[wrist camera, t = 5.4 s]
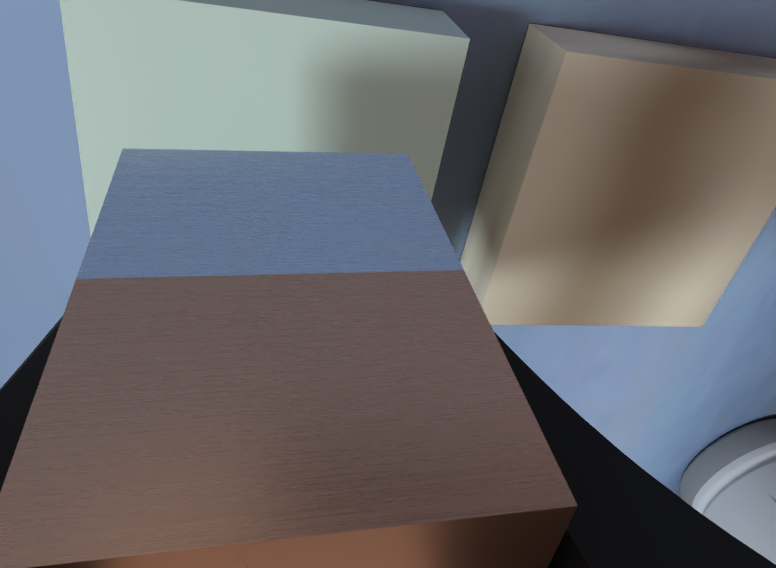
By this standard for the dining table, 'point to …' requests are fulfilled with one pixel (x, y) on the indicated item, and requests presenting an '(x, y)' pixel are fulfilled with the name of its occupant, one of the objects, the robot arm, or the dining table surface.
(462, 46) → the stand
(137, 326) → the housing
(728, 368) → the dining table surface
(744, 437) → the travel mug
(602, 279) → the stand
